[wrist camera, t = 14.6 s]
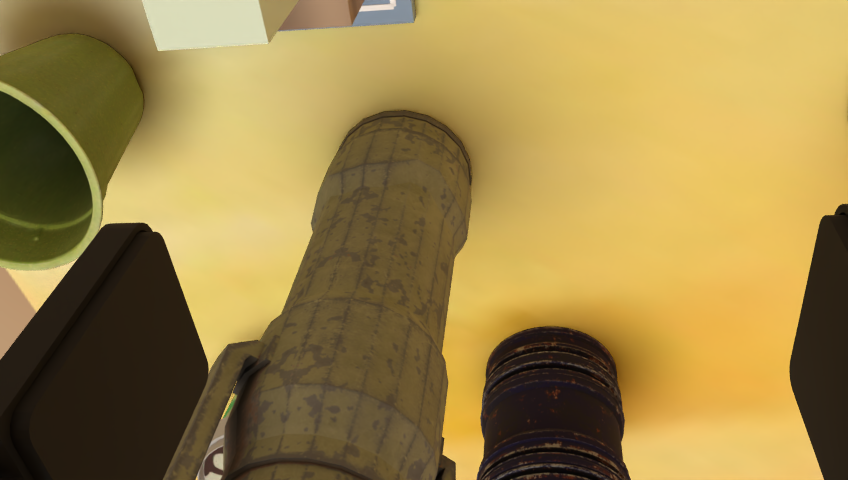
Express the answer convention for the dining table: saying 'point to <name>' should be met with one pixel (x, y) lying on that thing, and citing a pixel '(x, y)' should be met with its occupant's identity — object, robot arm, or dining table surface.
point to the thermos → (352, 325)
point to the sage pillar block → (214, 22)
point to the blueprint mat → (382, 13)
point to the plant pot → (60, 145)
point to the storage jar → (552, 409)
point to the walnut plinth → (322, 14)
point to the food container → (215, 452)
